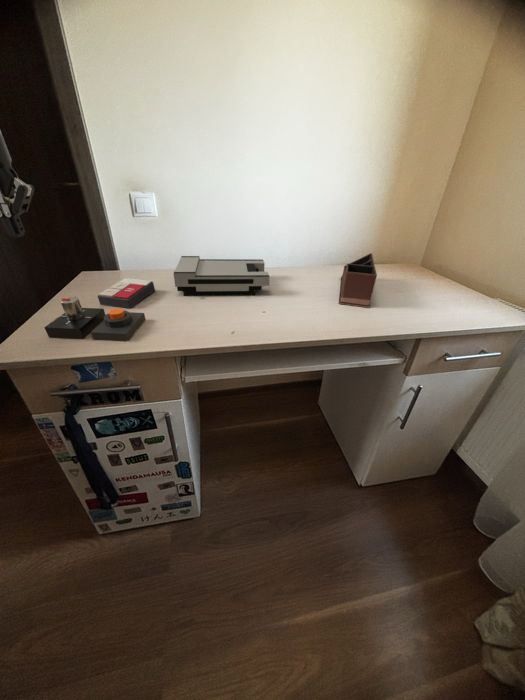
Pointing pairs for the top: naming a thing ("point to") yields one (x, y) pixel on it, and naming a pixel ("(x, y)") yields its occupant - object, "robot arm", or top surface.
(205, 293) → the game console
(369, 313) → the top surface
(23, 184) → the robot arm
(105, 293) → the calculator
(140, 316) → the button block
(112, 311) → the button
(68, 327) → the dial panel
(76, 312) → the dial
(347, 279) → the desk organizer
